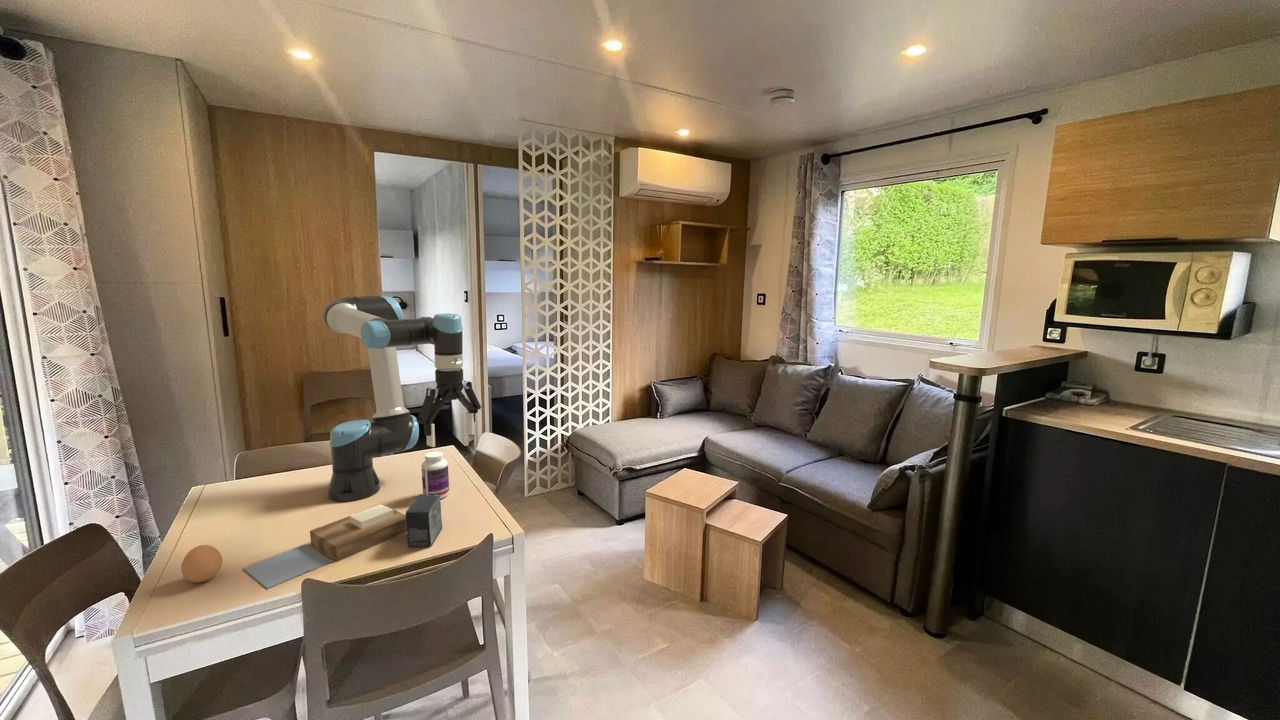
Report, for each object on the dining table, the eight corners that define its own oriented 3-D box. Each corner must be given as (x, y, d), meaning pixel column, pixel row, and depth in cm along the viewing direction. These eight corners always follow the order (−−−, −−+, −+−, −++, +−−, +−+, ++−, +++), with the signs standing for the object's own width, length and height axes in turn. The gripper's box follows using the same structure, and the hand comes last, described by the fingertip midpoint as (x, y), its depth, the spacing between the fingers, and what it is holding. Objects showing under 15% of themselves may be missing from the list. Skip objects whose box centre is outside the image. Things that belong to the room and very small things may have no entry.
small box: (419, 528, 148) (417, 494, 146) (443, 528, 148) (441, 494, 146) (406, 548, 137) (404, 511, 135) (431, 547, 138) (429, 511, 136)
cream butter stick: (350, 522, 142) (349, 515, 142) (381, 510, 149) (381, 504, 149) (361, 528, 139) (361, 522, 138) (393, 516, 146) (393, 509, 146)
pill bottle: (454, 493, 171) (453, 451, 169) (437, 503, 164) (435, 460, 161) (434, 489, 174) (432, 448, 172) (417, 499, 166) (415, 456, 164)
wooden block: (311, 544, 138) (309, 530, 137) (383, 516, 154) (382, 504, 153) (337, 561, 130) (336, 546, 129) (410, 530, 146) (409, 517, 146)
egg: (212, 587, 119) (208, 553, 117) (175, 590, 117) (170, 556, 116) (230, 569, 126) (226, 537, 124) (195, 572, 124) (191, 539, 123)
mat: (242, 568, 126) (242, 567, 126) (305, 544, 137) (305, 543, 137) (267, 589, 118) (267, 588, 118) (331, 562, 130) (331, 560, 130)
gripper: (418, 377, 134) (421, 454, 138) (492, 364, 155) (493, 431, 159) (400, 373, 138) (404, 448, 142) (475, 360, 159) (476, 426, 163)
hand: (451, 439), depth 150 cm, fingers open, 13 cm apart
